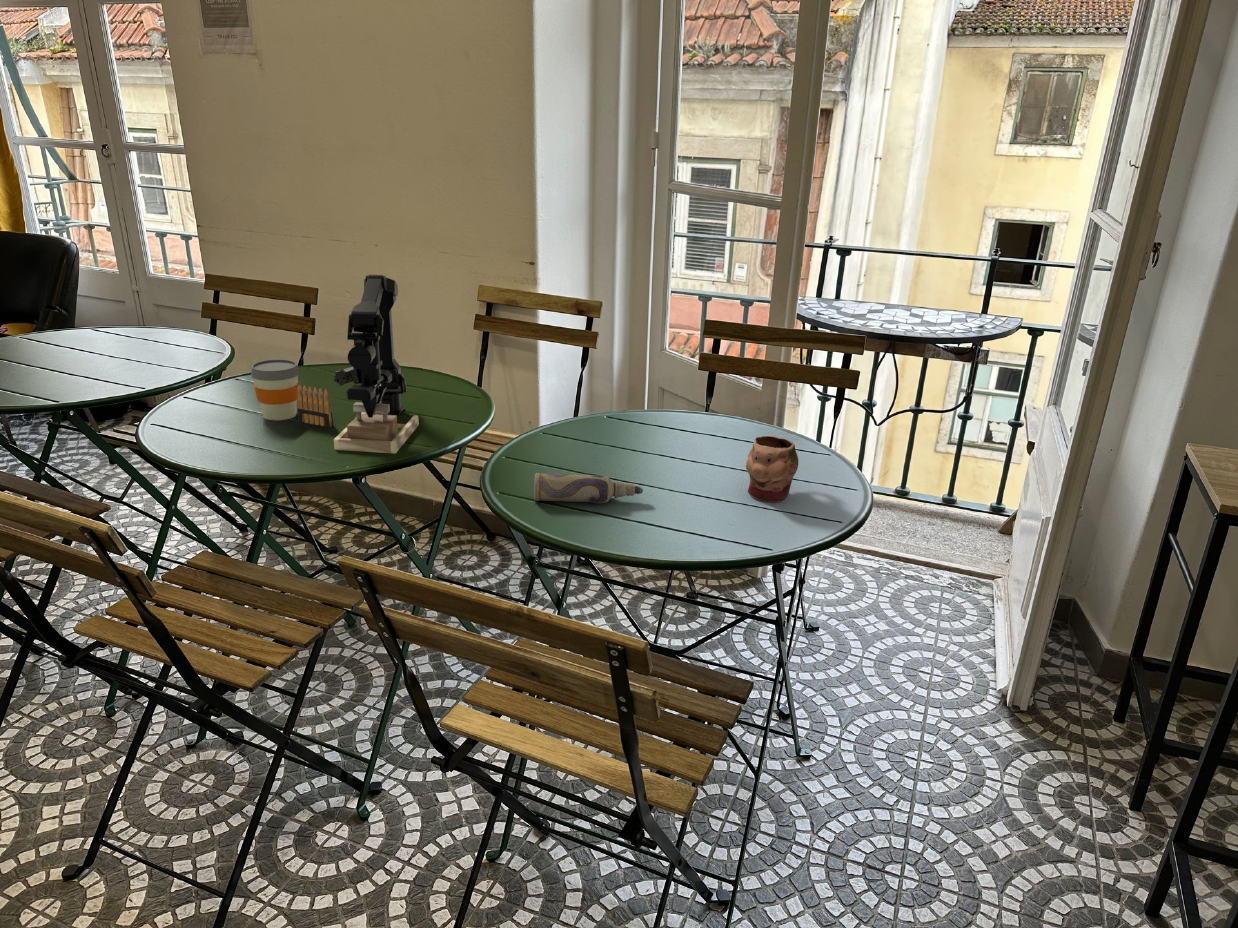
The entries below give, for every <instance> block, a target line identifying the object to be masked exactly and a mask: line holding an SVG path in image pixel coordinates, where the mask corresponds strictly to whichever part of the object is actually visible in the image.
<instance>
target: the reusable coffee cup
mask: <svg viewBox="0 0 1238 928" xmlns="http://www.w3.org/2000/svg"><path fill="white" fill-rule="evenodd" d="M297 363H298V362H296V361H294V360H290V359H282V358H281V359H278V358H277V359H276V358H275V359H265V360H260V361H257V362H255V363H252V365H251V368H250V369H251V370H250V371H251V374H250V375H251V378H253V382H254V384H253V388H254V392H255V396H256V399H257V402H259V405H260V409H261V411H262V416H263V418H264V419H265V420H268V421H285V420H289V419H292V418H294V417H296V416H297V415H298V410H297V409H298V385H299V384H300V381H299V374H300V373H299V367H298V364H297Z"/></svg>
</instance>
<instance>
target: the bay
mask: <svg viewBox="0 0 1238 928" xmlns="http://www.w3.org/2000/svg"><path fill="white" fill-rule="evenodd" d="M361 413H363V414H367V413H364V412H361ZM419 420H420V419H419V415H416V414H414V415H413V416H411V418H410V419H409V420H408V422H407V423H397V429H400V428H401V430H400V431H399V432H398V435H397V436H396V437H395V438H394V439H393V441H379V440H363V439H348V432H347V426H346V427H345V428H344V429H342V431H341V432H340V433H339V434H338V435H336V437H334V438H333V447H334V450H336V451H351V452H367V453H368V452H369V453H380V454H382V453H383V454H397V452H398V451H399V450H400V449H401V448H402V446H403V445H405V443H406V441H407V440H408V439H409V438H410V436H411V435H412V434H413V432H414V431H416V430H417V428H418V427H419V425H420V423H419Z"/></svg>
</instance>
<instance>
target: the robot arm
mask: <svg viewBox="0 0 1238 928" xmlns="http://www.w3.org/2000/svg"><path fill="white" fill-rule="evenodd" d="M398 296H399V286H398V283H397V281H396V280H394V279H392V278H388V277H387V276H386V275H383V274H368V275H366V276H365V278H364V280H363V293H362V297H361V301H360V302H359V303H358V304H356V305H354V306H353V307H352V310H351V313H349V314H348V321H347V322H348V323H347V340H348V341H353V345H352V347H351V349H350V350H349V351H348V353H347V361H348V363H349V365H350V367H347V368H343V369H340V370H337V371H334V375H333V377H334V379H333V381H334V383H337V385H338V386H339V387H343V386H344V385H346V384H349V383H353V385H352V386H350V387H349V388H348V389H347V390H346V392H345V394H346V395H345V396H346V398H345V399H346V400H348V401H349V400H350V401H361V403H363V405H364V408H365V410H366V413H367V415H368V417H369V418H372V417H373V415H375V414H379V415H381V414H380V413H374V411H375V408H376V404H389V406H390V412H389V413H388V414H387V415H394V416H399V415H400V414H401V413H402V412H403V411H404V409H406V408H405V406H401V405H402V404H401V395H404V393H405V394H406V393H407V382H406V379H405V377H404V374H403V373H402V369H401V366H400V364H399V363H398V361H397V360H396V358H395V351H394V350H395V349H394V333H393V320H392V319H393V317H392V308H393V307H394V305H395V303H396V301H397V297H398Z"/></svg>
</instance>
